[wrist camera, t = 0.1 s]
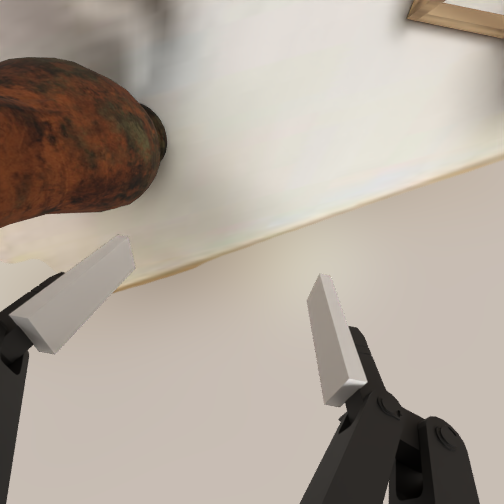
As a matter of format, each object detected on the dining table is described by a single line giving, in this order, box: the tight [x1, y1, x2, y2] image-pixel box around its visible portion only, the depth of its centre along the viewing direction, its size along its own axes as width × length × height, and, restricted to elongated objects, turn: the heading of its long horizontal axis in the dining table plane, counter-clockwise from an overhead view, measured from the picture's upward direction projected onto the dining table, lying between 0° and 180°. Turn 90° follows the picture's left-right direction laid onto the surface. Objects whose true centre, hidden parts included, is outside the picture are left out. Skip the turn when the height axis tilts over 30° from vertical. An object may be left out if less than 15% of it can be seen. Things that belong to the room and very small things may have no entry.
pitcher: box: [0, 57, 167, 228], centre depth 24 cm, size 17×21×30 cm
